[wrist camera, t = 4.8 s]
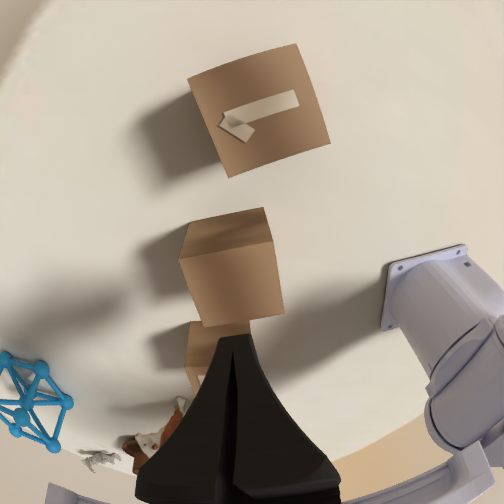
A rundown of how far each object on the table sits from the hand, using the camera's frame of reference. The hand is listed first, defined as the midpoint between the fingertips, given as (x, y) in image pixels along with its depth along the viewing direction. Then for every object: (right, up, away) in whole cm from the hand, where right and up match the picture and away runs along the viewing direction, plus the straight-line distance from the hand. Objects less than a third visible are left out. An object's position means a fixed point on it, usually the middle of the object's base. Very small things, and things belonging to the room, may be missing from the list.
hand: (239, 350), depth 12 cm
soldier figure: (-33, -40, +31) cm, 60 cm away
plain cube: (-1, +5, +8) cm, 9 cm away
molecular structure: (-30, -13, +16) cm, 36 cm away
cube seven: (-2, -4, +13) cm, 13 cm away
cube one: (+1, +13, +4) cm, 13 cm away
